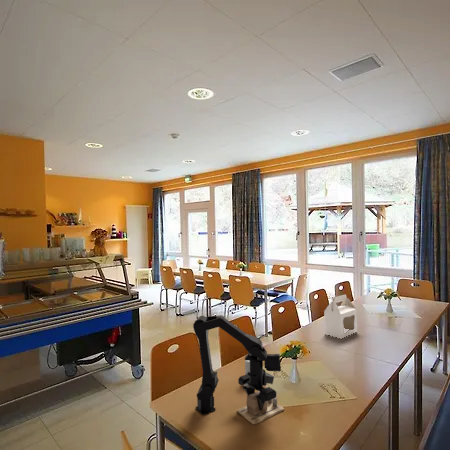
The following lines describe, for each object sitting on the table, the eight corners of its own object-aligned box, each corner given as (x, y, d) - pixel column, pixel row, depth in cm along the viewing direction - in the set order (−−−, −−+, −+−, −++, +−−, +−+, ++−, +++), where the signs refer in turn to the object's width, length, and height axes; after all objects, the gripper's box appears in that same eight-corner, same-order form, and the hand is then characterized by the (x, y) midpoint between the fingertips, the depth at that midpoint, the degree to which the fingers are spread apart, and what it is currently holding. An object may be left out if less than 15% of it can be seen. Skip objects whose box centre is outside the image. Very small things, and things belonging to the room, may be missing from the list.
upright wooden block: (254, 415, 127) (254, 400, 127) (247, 410, 131) (246, 395, 131) (267, 409, 131) (267, 395, 131) (259, 404, 135) (259, 390, 135)
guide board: (253, 424, 123) (253, 415, 123) (237, 411, 132) (236, 402, 132) (284, 410, 132) (284, 401, 133) (266, 398, 142) (266, 390, 142)
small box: (253, 375, 165) (253, 355, 165) (262, 378, 161) (262, 358, 161) (244, 381, 159) (244, 360, 159) (254, 384, 155) (253, 363, 155)
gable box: (340, 328, 240) (339, 292, 241) (357, 332, 230) (356, 294, 231) (324, 334, 226) (323, 296, 227) (341, 339, 216) (340, 299, 217)
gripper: (285, 372, 128) (286, 410, 128) (256, 358, 143) (257, 391, 143) (265, 380, 122) (266, 420, 122) (237, 364, 137) (237, 399, 137)
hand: (256, 407), depth 131 cm, fingers closed on upright wooden block, 5 cm apart
